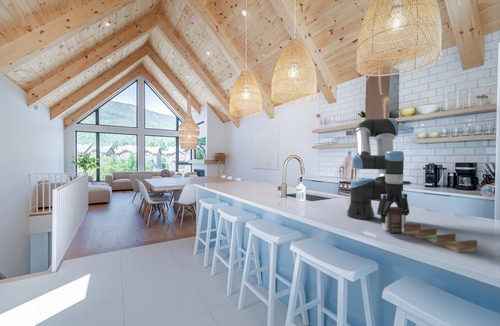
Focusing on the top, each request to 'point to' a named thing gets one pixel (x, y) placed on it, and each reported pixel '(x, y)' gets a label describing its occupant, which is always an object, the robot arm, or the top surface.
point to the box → (394, 220)
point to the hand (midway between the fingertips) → (393, 228)
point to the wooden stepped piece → (440, 238)
